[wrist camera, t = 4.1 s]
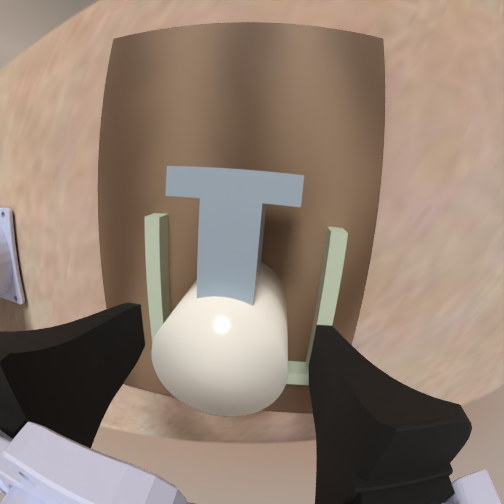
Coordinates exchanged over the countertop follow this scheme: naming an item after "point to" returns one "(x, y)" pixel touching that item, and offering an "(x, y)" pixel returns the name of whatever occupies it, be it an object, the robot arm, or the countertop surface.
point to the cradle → (161, 295)
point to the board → (243, 160)
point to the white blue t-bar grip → (228, 296)
